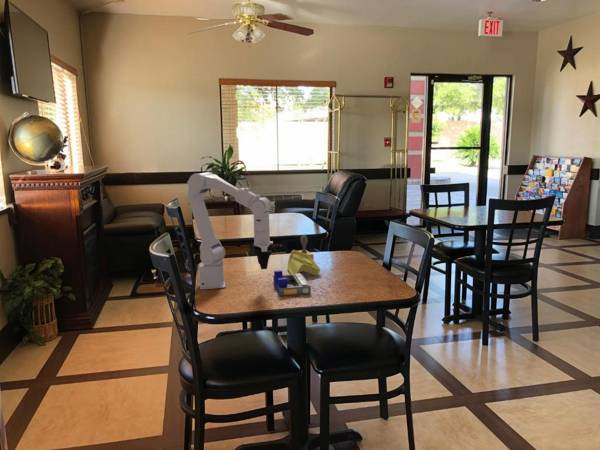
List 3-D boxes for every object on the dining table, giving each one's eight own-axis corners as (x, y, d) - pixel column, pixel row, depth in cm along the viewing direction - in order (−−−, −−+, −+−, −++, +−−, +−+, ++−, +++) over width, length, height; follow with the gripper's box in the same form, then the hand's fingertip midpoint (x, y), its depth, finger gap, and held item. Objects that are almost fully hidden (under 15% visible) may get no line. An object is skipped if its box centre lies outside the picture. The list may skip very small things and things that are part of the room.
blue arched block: (291, 294, 178) (291, 278, 177) (279, 295, 177) (278, 279, 176) (285, 284, 190) (285, 270, 189) (274, 285, 189) (274, 270, 188)
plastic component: (322, 270, 200) (301, 262, 197) (314, 286, 201) (293, 278, 198) (309, 256, 219) (290, 248, 215) (302, 270, 219) (283, 262, 216)
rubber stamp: (313, 262, 223) (313, 236, 221) (302, 263, 221) (301, 237, 219) (306, 257, 232) (305, 232, 230) (294, 258, 230) (294, 233, 228)
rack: (280, 296, 175) (279, 287, 174) (273, 283, 191) (273, 274, 191) (310, 294, 177) (310, 285, 176) (301, 281, 193) (301, 272, 193)
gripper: (275, 233, 172) (276, 270, 174) (269, 226, 186) (270, 260, 188) (255, 234, 171) (256, 271, 173) (251, 227, 185) (252, 261, 187)
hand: (262, 266), depth 181 cm, fingers open, 7 cm apart
